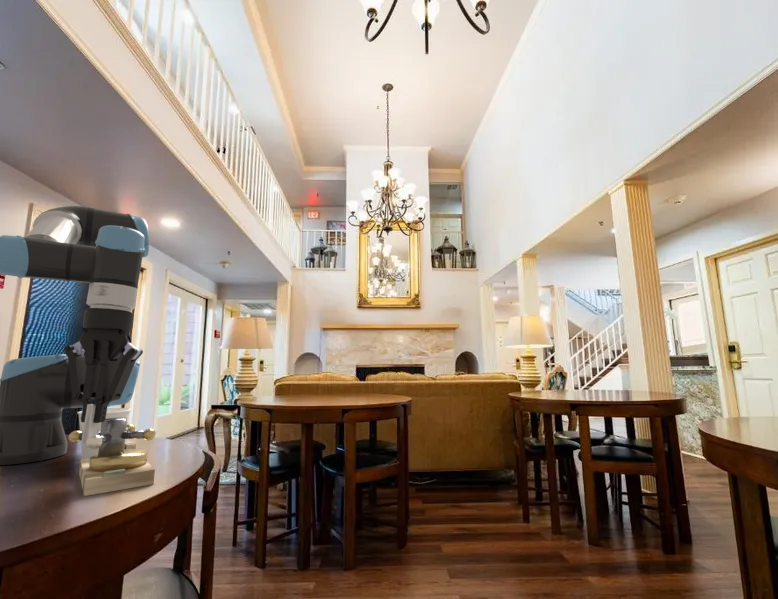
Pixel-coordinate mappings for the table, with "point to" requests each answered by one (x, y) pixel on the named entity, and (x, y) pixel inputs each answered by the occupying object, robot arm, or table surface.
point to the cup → (110, 414)
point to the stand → (114, 476)
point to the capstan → (114, 445)
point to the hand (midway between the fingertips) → (89, 441)
